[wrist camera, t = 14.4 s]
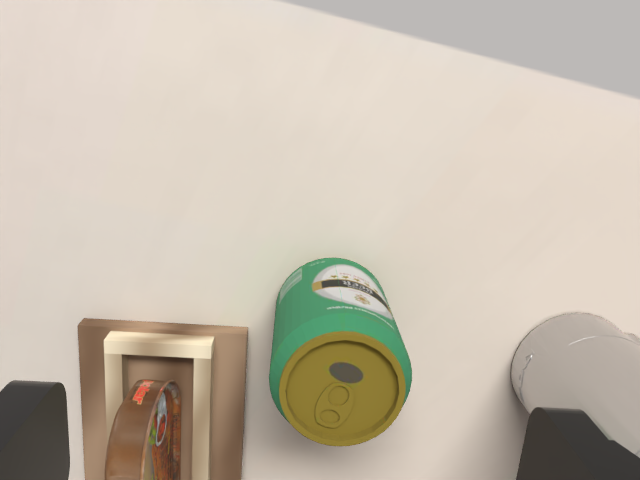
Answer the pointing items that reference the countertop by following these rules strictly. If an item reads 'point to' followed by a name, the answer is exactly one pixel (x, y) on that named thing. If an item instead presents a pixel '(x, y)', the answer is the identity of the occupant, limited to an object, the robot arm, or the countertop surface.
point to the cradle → (167, 364)
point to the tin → (146, 434)
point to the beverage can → (337, 354)
